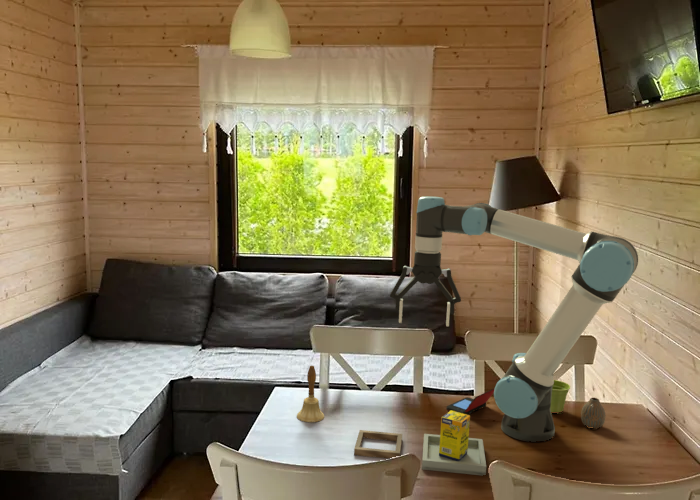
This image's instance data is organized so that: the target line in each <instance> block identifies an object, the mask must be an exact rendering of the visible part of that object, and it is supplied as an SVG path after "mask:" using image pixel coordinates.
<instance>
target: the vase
mask: <svg viewBox="0 0 700 500" xmlns="http://www.w3.org/2000/svg"><path fill="white" fill-rule="evenodd" d="M580 419H581V422H582V424H583V426H585V425H586V426H588V427H593V428H599V427H600V428H602V427H603V426H604V424H605V421H606V409H605V408H604V406H603V405H602V403H601V401H600V399H599V398H597V397H590V399H589V400H588V401H587V402H586V403H585V404H584V405H583V407H582V409H581V411H580ZM586 426H585V427H586ZM600 428H599V429H600Z"/></svg>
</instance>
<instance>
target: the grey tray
mask: <svg viewBox="0 0 700 500" xmlns="http://www.w3.org/2000/svg"><path fill="white" fill-rule="evenodd" d="M483 440H484V438H483V439H482V438H475V437H474V438H473V437H469V439H468V451H467V454H466V455H465V456H464V457H463V458H462V459H461V460H460V461H459V462H458V461H455V460H451V459H448V458H445V457H442V456H439V446H440V434H431V433H424V434H423V445H422V449H423V450H422V462H421V470H424V471H425V470H427V471H434V472H435V471H436V472H444V473H445V472H446V473H455V474H462V475H463V474H464V475H466V474H467V475H472V476H473V475H475V476H483V475H486V474H487V462H486V455H485V447H484V441H483ZM486 476H487V475H486Z"/></svg>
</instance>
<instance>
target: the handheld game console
mask: <svg viewBox="0 0 700 500" xmlns="http://www.w3.org/2000/svg"><path fill="white" fill-rule="evenodd" d="M494 389H495V387H494V388H492V389H490V390H488V391H485V392H483V393H480V395H477V396H475V397H474V398H471V397H463V398H461V399H459V400H458V401H456V402H453V403H451V404H449V405H446V408H445V409H446V410H447V411H448V412H449V411H455V412H459V413H462V414H466V415H471V414H472V412H473V413H474V410H475V411H477V410H476V409H479V410H481V409H483V408H485V407H486V406H487V402H488V401H489V400H490V398H491V397H492V396H493V395H494ZM484 406H485V407H484ZM482 407H483V408H482ZM480 408H481V409H480Z"/></svg>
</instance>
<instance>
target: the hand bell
mask: <svg viewBox="0 0 700 500" xmlns="http://www.w3.org/2000/svg"><path fill="white" fill-rule="evenodd" d="M306 376H307V377H306V378H307V385H308V397H305V398H304V399H303V404H302V407H301V410H300V411H298V413H297V414H296V418H297V419H298V420H299V421H300V422H304V423H318V421H319V422H321V421H324V419H325V414H324V413H323V412H322V411H321V408H320V402H319V399H318V398H317V397H315V384H316V379H317V372H316V369H315V365H309V367H308V372H307V375H306Z"/></svg>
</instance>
